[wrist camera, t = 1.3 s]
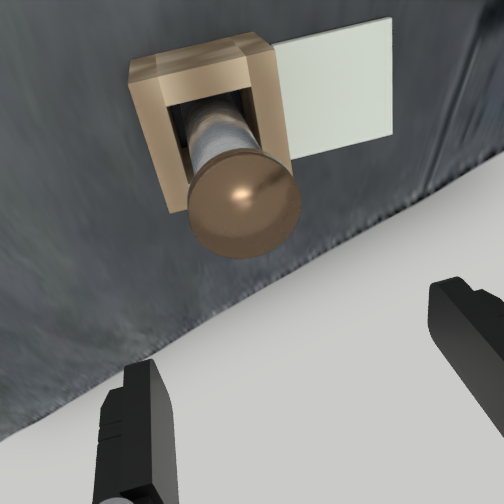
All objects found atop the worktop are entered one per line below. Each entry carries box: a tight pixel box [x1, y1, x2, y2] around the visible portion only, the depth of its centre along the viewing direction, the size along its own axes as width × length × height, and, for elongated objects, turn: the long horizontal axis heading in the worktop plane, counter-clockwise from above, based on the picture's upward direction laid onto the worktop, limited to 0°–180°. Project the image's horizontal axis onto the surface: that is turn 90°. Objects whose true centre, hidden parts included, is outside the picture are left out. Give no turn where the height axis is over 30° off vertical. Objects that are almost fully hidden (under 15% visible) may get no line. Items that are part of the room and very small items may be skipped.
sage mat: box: [271, 17, 392, 160], centre depth 33 cm, size 8×8×1 cm
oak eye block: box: [128, 31, 293, 213], centre depth 30 cm, size 8×8×6 cm
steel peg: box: [180, 92, 301, 259], centre depth 26 cm, size 5×5×15 cm
